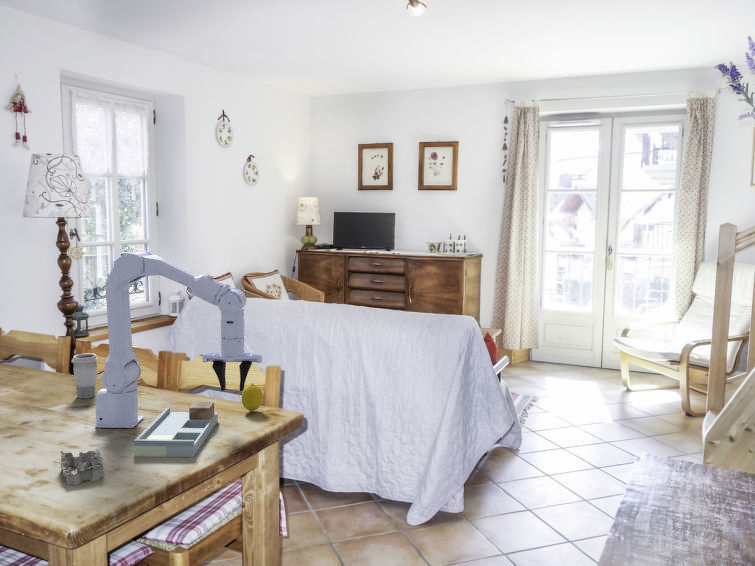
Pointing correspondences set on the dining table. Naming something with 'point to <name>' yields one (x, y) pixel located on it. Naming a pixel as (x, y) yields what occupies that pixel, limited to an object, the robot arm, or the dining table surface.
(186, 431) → the trap tray
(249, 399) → the lemon
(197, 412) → the walnut block
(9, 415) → the dining table surface
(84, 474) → the grey toy castle
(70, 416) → the dining table surface
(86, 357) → the cup
